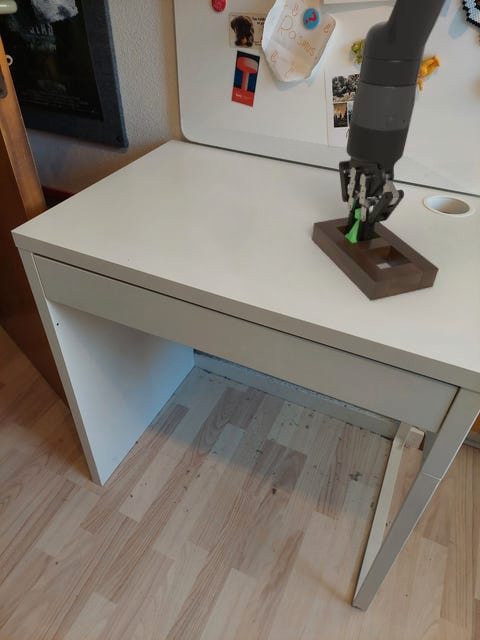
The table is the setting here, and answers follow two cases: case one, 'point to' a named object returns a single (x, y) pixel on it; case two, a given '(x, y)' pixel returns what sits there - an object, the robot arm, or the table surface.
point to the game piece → (354, 227)
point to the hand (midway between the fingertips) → (358, 236)
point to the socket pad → (375, 260)
